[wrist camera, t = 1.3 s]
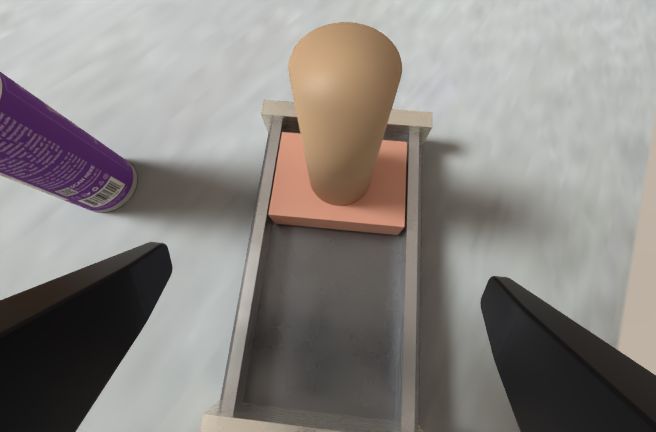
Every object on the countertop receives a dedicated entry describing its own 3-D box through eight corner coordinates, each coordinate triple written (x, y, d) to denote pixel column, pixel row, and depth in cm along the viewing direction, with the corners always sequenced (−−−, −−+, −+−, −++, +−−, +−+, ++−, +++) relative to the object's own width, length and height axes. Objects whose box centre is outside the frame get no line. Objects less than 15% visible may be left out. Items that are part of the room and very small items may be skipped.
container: (140, 155, 24) (-138, -61, 10) (135, 209, 23) (-196, 50, 9) (82, 160, 24) (-280, -48, 10) (74, 215, 23) (-360, 65, 9)
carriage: (397, 235, 21) (471, 151, 9) (274, 223, 21) (207, 130, 10) (400, 157, 22) (466, 8, 11) (286, 148, 23) (241, -4, 12)
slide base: (413, 440, 18) (431, 470, 15) (222, 416, 19) (198, 440, 16) (418, 139, 24) (432, 112, 21) (273, 127, 25) (263, 99, 21)
